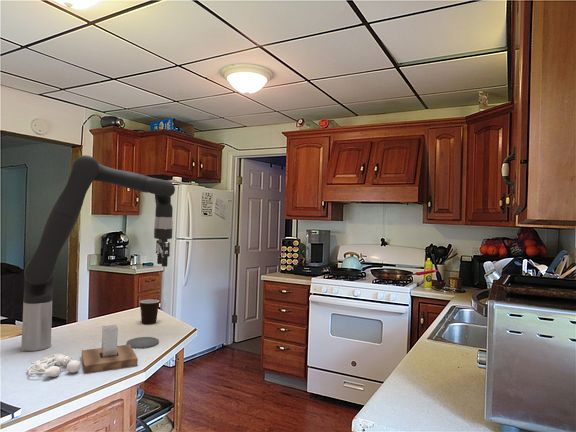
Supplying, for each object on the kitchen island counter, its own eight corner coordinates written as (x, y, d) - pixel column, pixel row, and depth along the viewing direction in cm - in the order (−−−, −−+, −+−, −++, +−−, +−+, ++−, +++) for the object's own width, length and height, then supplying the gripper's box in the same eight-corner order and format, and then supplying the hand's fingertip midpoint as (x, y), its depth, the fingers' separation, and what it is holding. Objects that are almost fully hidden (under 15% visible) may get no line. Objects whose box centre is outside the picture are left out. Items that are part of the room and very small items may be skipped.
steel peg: (102, 364, 136) (103, 329, 136) (101, 360, 140) (102, 325, 140) (116, 362, 138) (117, 327, 138) (114, 358, 142) (116, 324, 142)
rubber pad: (129, 350, 151) (129, 348, 151) (124, 341, 161) (124, 339, 161) (161, 346, 157) (161, 344, 157) (155, 337, 167) (155, 335, 167)
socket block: (84, 373, 128) (84, 365, 128) (81, 357, 142) (81, 350, 142) (137, 365, 136) (137, 358, 136) (129, 351, 150) (129, 344, 150)
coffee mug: (154, 325, 184) (155, 303, 184) (136, 324, 185) (136, 303, 185) (163, 319, 196) (163, 298, 196) (145, 318, 196) (146, 297, 196)
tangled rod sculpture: (21, 368, 134) (20, 356, 134) (69, 356, 143) (68, 344, 143) (32, 386, 119) (31, 373, 119) (85, 371, 129) (84, 358, 129)
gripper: (150, 226, 177) (149, 263, 177) (158, 228, 165) (156, 267, 165) (168, 227, 181) (166, 263, 181) (176, 228, 169) (175, 267, 169)
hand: (162, 265), depth 173 cm, fingers open, 8 cm apart
